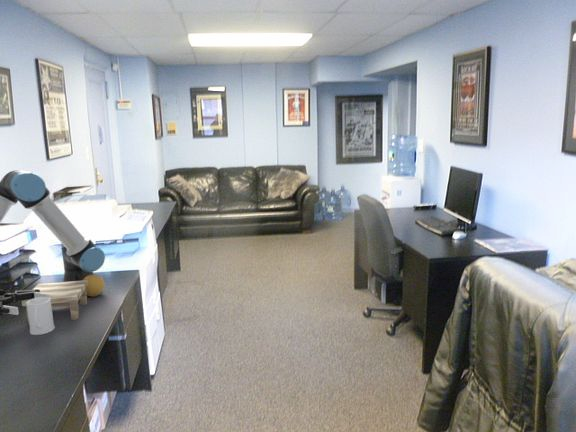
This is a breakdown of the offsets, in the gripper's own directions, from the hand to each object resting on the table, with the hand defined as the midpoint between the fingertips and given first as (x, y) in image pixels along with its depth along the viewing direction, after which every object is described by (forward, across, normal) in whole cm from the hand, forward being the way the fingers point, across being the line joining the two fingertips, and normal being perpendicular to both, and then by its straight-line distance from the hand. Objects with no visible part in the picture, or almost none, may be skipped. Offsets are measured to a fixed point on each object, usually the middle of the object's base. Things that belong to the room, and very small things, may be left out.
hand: (33, 303), depth 173 cm
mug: (+1, -1, -12) cm, 12 cm away
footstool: (-6, -17, -12) cm, 22 cm away
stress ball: (-6, -37, -12) cm, 40 cm away
